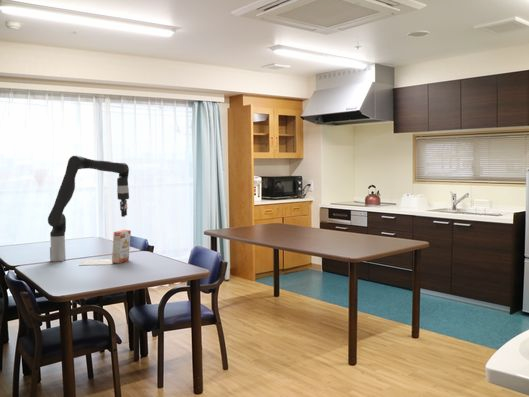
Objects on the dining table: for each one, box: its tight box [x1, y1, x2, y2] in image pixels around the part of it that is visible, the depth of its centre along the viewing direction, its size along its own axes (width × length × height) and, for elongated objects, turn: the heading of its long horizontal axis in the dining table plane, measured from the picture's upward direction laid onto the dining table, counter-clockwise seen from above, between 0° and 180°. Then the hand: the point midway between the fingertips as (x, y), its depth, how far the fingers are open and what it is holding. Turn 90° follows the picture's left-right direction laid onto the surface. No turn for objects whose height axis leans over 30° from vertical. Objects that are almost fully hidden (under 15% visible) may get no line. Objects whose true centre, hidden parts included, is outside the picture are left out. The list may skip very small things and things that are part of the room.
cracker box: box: [111, 229, 132, 264], centre depth 333 cm, size 14×6×21 cm, turn 168°
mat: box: [78, 258, 114, 267], centre depth 332 cm, size 21×18×1 cm
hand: (124, 216), depth 335 cm, fingers open, 8 cm apart
